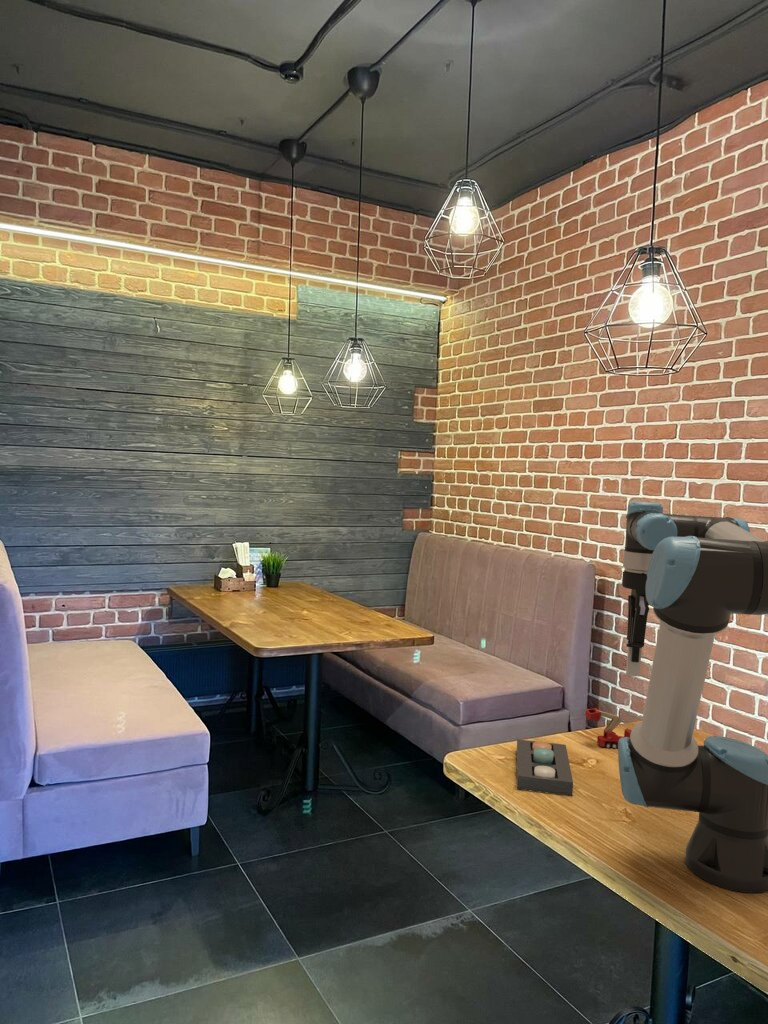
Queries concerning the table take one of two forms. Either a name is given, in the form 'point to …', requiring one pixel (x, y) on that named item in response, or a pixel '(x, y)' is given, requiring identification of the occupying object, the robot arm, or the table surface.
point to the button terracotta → (541, 745)
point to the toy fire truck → (607, 728)
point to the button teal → (543, 756)
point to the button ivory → (544, 771)
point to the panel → (560, 765)
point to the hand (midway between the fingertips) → (632, 675)
